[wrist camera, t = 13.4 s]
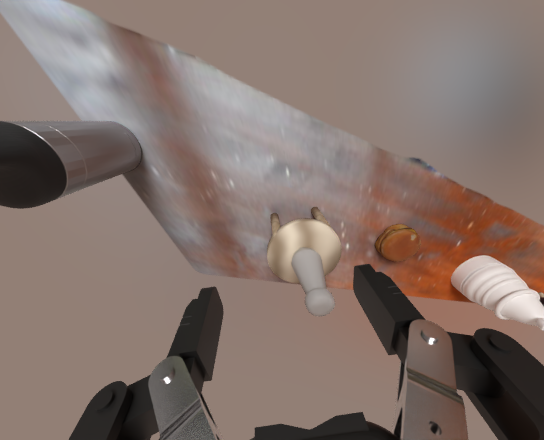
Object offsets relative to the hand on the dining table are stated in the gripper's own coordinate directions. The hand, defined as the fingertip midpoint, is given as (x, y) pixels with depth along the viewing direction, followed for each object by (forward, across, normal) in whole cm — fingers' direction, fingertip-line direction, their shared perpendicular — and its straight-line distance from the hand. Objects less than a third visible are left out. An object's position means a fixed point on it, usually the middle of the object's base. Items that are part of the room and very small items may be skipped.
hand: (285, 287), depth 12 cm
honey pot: (+34, -56, +40) cm, 77 cm away
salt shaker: (+24, -5, +16) cm, 30 cm away
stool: (+34, -5, +16) cm, 38 cm away
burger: (+34, -30, +23) cm, 51 cm away
